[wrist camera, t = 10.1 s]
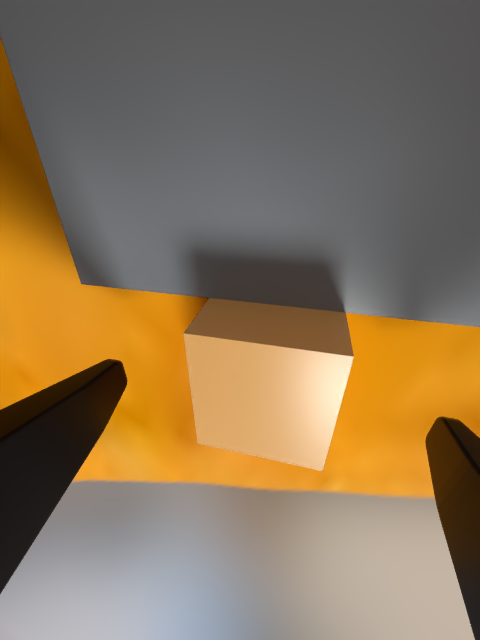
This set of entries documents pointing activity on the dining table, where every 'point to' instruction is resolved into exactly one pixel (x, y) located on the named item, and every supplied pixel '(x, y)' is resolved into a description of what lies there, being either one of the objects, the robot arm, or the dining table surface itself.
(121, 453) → the dining table surface
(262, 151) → the lid
